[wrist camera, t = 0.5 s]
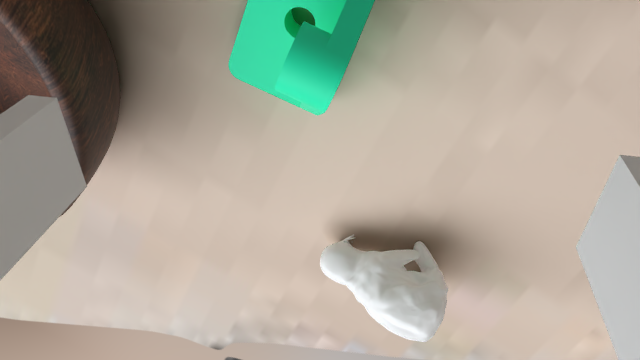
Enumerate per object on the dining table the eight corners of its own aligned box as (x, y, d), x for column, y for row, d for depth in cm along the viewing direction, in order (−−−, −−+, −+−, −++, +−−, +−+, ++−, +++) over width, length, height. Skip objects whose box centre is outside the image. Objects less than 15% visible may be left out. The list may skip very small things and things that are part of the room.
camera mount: (287, -99, 31) (239, -76, 23) (392, -46, 32) (382, -5, 23) (235, 60, 38) (185, 121, 30) (322, 100, 39) (296, 171, 31)
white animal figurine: (428, 363, 42) (299, 318, 43) (435, 292, 49) (323, 255, 50) (453, 320, 38) (311, 272, 39) (456, 249, 45) (335, 210, 46)
